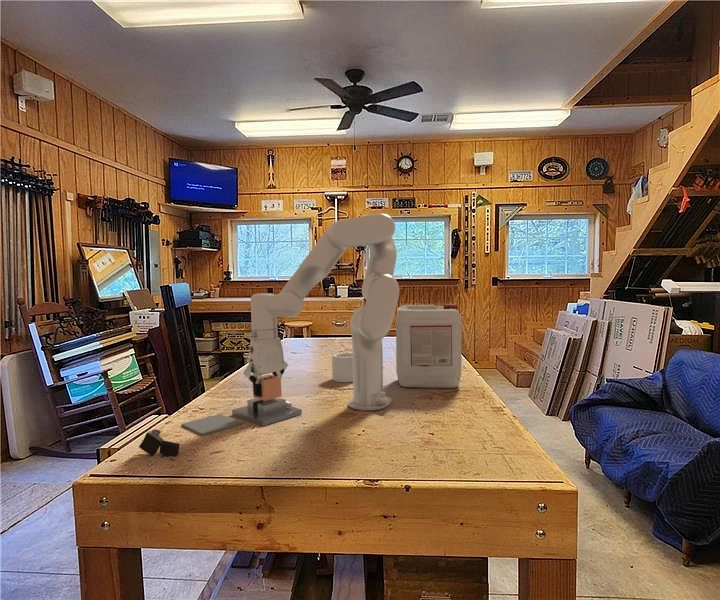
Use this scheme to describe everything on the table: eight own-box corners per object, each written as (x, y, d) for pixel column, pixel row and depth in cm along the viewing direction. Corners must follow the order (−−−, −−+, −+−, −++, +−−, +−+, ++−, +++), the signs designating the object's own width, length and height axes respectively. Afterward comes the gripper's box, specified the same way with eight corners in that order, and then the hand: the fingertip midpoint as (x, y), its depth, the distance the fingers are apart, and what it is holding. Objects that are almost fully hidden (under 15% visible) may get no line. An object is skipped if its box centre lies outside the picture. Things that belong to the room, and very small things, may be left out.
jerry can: (457, 377, 184) (457, 302, 182) (463, 389, 165) (463, 306, 163) (397, 377, 186) (396, 302, 184) (396, 389, 168) (395, 306, 166)
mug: (359, 382, 178) (358, 357, 177) (331, 383, 178) (330, 357, 178) (360, 374, 192) (359, 350, 191) (334, 375, 192) (333, 351, 191)
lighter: (173, 463, 112) (184, 444, 111) (168, 467, 110) (179, 448, 109) (143, 443, 113) (154, 424, 112) (138, 447, 110) (149, 427, 110)
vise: (301, 414, 140) (300, 376, 139) (263, 426, 130) (261, 385, 129) (270, 404, 151) (269, 369, 150) (232, 414, 141) (230, 377, 140)
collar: (281, 396, 140) (280, 377, 140) (265, 401, 136) (264, 380, 136) (269, 393, 144) (269, 374, 144) (253, 397, 140) (252, 377, 140)
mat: (241, 424, 132) (241, 422, 132) (202, 435, 123) (202, 433, 123) (219, 415, 140) (219, 413, 140) (181, 425, 131) (181, 423, 131)
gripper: (247, 339, 130) (249, 402, 131) (295, 332, 143) (297, 389, 144) (232, 337, 135) (235, 397, 136) (280, 330, 148) (282, 386, 149)
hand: (267, 393), depth 140 cm, fingers closed on collar, 6 cm apart
